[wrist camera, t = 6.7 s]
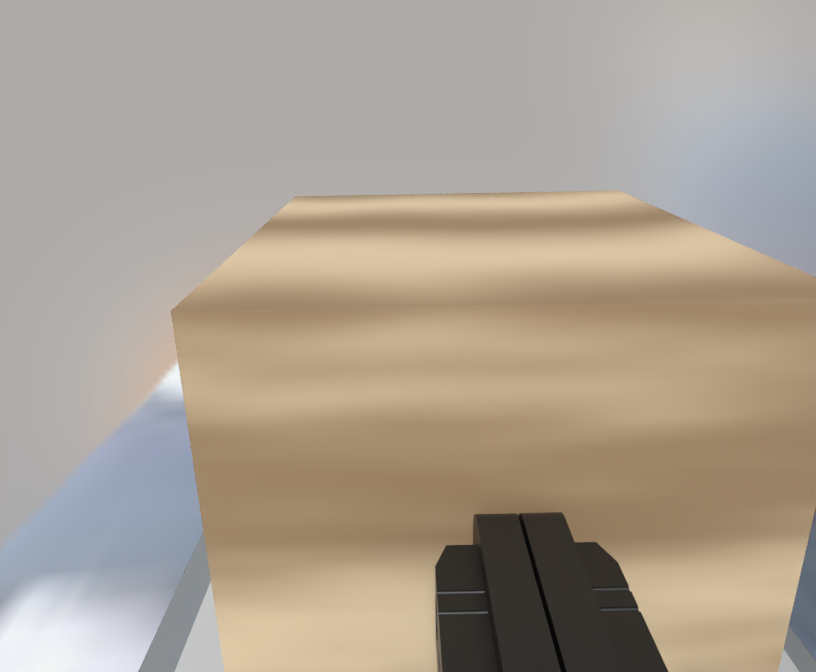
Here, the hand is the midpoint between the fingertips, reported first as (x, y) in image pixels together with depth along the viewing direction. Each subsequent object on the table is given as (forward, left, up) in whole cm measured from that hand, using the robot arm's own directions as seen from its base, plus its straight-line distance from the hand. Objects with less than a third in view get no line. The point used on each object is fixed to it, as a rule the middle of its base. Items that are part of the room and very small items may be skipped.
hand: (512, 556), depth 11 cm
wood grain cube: (-5, -4, -6) cm, 9 cm away
